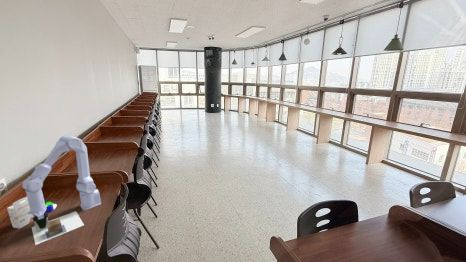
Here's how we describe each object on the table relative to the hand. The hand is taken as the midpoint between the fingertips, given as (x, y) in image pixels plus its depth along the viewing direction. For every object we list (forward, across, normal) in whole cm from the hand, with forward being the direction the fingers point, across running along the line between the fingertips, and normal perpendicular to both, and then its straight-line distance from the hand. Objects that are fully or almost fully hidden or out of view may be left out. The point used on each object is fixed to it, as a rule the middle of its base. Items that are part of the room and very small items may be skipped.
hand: (42, 225), depth 111 cm
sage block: (+1, 0, 0) cm, 1 cm away
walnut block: (+1, +9, +4) cm, 10 cm away
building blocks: (+2, -23, +2) cm, 23 cm away
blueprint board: (+2, +4, +6) cm, 7 cm away
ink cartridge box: (+2, -12, -6) cm, 14 cm away
